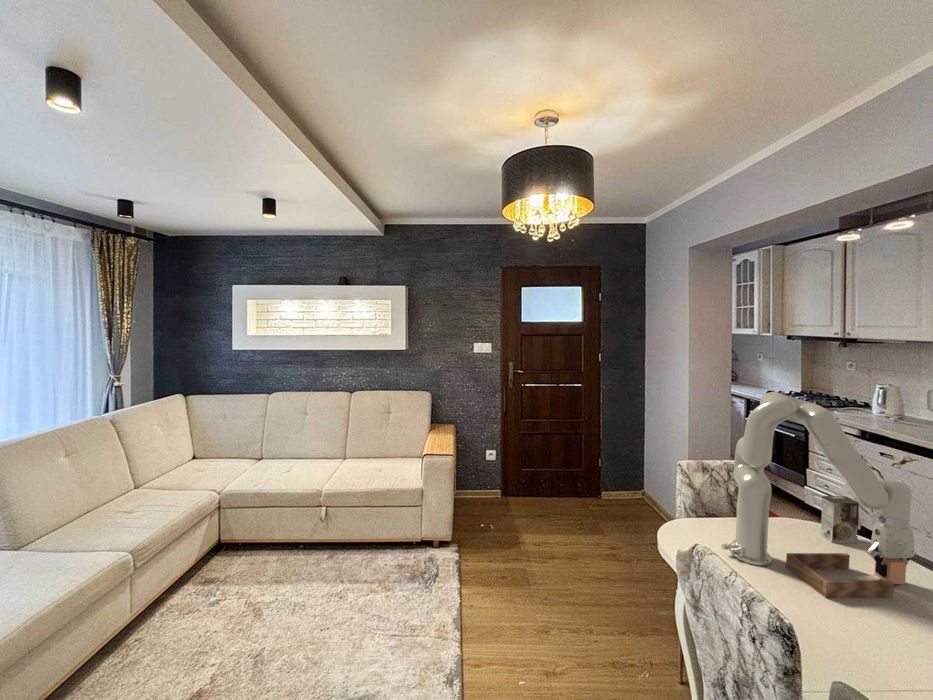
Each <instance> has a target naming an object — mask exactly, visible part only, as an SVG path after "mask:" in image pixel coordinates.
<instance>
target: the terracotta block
mask: <svg viewBox="0 0 933 700" xmlns="http://www.w3.org/2000/svg"><path fill="white" fill-rule="evenodd" d="M882 557H883V556H880V558H881V559H882ZM874 561H875V560H874ZM885 565H887V577H883V576H881V575H880V574H878V573H876V571H875V570H876V561H875V563H874V574H873V575H874V576H876V577H877V578H880V580H891V581H892V582H894V585H898V584H899V585H901V584H902V585H905V584H906V572H907V565H906V562H904V561H902V560H900V559H899V558H888V559H887V561H886V564H885Z"/></svg>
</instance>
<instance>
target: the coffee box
mask: <svg viewBox="0 0 933 700" xmlns="http://www.w3.org/2000/svg"><path fill="white" fill-rule="evenodd" d="M821 499H822V502H821V503H822V505H821V519H820V520H821V521H820V522H821V523H820V535H821V536H822V537H823V538H825V539H826V540H828V541H829V542H830V543H833V544H858V534H859V532H858V528H859V507H860V506H859V505H860V502H859V501H855V500H854V499H852V498H851V497H849V496H846V495H845V496H844V495H843V496H842V495H841V496H840V495H822V498H821ZM856 535H857V536H856Z"/></svg>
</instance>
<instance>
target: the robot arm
mask: <svg viewBox="0 0 933 700" xmlns="http://www.w3.org/2000/svg"><path fill="white" fill-rule="evenodd" d="M785 421H789V422H794V423H796V424H800V425H803V426H804V427H805V428H806V430H807V431H808V433H809V434H810V436H811V437H812V439H813V440H814V442H815V443H816V445H817V447H818V449H820V451H821V454H822V455H823V456H824V457H825V459H826V460H827V461H828V462H829V463H830V464H831V466H833V467H834V468H835V469H836V470H837V471H838V472H839V473H840V475H841V476H842V477H843V478H844V479H845V481H844V488H845V490H846V491H847V493H848V494H849V495H850V496H851V497H852V498H854V499H855V500H857V501H856V502H858V503H859V504H861V505H862V506H864V507H865V508H867V509H870V510H876V516H875V517H874V519H875V523H874V525H873V529H872V534H871V540H870V547H869V548H868V550H867V551H866V553H867V554H868V555H869V556H870V557H872V559H873V560H874V561H876V570H875V569H874V572H875V571H876V573H878V574H880V575H881V576H883V577H887V565H885V564H886V561H887V559H888V558H899V559H900V560H902V561H904V562H906V566H907V565H908V563H909V561H910V560H911V559H912V558H914V556H916V552H915V536H914V532H913V528H912V527H911V512H912V507H911V505H912V495H913V490H912V488H911V487H910V486H909V485H907V484H905V483H902V482H899V481H893V480H880V479H879V478H878V476H877V475H876V474H875V472H874V471H873V470H872V469H871V467H870V466H869V465H868V463H867V462H866V460H864V459H863V457H862V455H861V454H860V452H859V451H858V450H857V449H856V447H855V446H854V444H853V443H852V442H851V440H850V439H849V437H848V436H847V434H846V433H845V431H844V429H843V428H842V427H841V425H840V423H839V422H838V420H837V419H836V418H835V416H834V414H833V413H832V412H831V411H830V410H829V409H828V408H825V407H823V406H821V405H818V404H817V403H813V402H811V401H806V400H803V399H800V398H796V397H793V396H790V395H787V394H784V393H781V392H778V391H771V392H766V393H764V394H763V395H762V396H761V398H760V401H759V405H758V406H756V407H755V408H754V409H752V411H751V412H750V413H749V415H748V417H747V418H746V421H745V426H744V427H745V428H744V432H743V436H742V437H741V438H739V439H738V441H737V443H736V444H735V445H736V446H735V453H734V466H733V477H734V480H735V482H736V484H737V486H738V494H737V501H736V523H735V539H732V542H730V543H721V548H722V550H725V551H726V550H729V552H730V554H731V555H732V556H733V557H734V558H736V559H737V560H739V561H742V562H743V563H747V564H750V565H753V566H768V565H771V564H772V563H773V557H772V555H771V554H770V553H768V539H769V538H768V537H769V536H768V535H769V520H770V518H769V516H770V515H769V513H770V504H771V503H770V502H771V498H772V492H773V491H772V485H771V481H770V480H769V478H768V477H767V475H766V474H765V471H764V470H765V468H766V467H768V466H769V465H770V463H771V461H772V457H773V444H774V442H773V441H774V435H775V430H776V428H777V427H778V425H779V424H782V423H783V422H785ZM880 556H883V557H882V559H881V558H880Z"/></svg>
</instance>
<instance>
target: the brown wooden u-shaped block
mask: <svg viewBox="0 0 933 700" xmlns="http://www.w3.org/2000/svg"><path fill="white" fill-rule="evenodd" d="M850 558H851V555H850V554H848V553H846V552H842V553H839V552H836V553H834V552H830V553H829V552H824V553H823V552H819V553H817V552H816V553H814V552H813V553H812V552H811V553H810V552H809V553H807V552H804V553H803V552H799V553H798V552H797V553H796V552H795V553H793V552H792V553H791V552H790V553H789V552H787V553H786V557H785V568H787V569H788V570H789V571H790V572H792V573H793V574H794V576H796V577H798V578H799V579H800V580H802V581H803V582H804V583H805V584H807V585H808V586H810V587H811V588H812V589H814V591H816V592H817V593H818V594H820V595H821V596H822V597H824V598H825V599H894V592H895V584H894V582H892V581H891V580H882V579H879V580H878V579H874V580H871V579H868V580H867V579H866V580H864V579H862V580H861V579H860V580H859V579H853V580H851V579H850V580H849V579H845V580H844V579H841V580H840V579H837V580H835V579H833V580H832V579H826V578H825V577H824V576H823V575H821V574H819V573H818V572H816V570H850Z"/></svg>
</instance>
